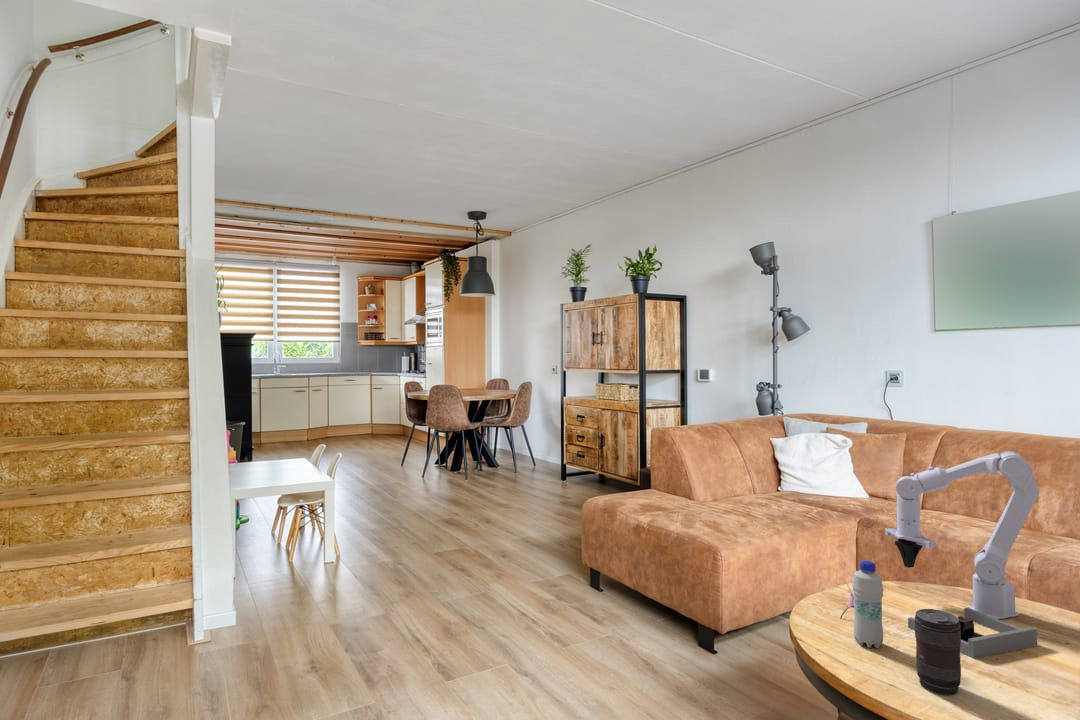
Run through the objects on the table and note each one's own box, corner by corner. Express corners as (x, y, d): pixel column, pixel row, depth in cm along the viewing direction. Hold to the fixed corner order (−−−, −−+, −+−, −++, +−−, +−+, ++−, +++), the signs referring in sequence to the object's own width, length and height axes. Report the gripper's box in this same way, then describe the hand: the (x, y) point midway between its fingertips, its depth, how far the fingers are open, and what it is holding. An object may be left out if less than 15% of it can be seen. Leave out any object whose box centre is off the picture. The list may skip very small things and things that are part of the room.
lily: (865, 637, 153) (884, 603, 153) (820, 607, 160) (837, 576, 160) (870, 634, 162) (887, 603, 162) (827, 607, 169) (844, 577, 169)
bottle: (883, 640, 148) (881, 558, 148) (885, 652, 142) (884, 567, 142) (852, 635, 151) (851, 555, 151) (853, 647, 145) (852, 563, 145)
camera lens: (906, 678, 131) (905, 608, 131) (941, 676, 131) (940, 607, 131) (934, 699, 123) (932, 624, 123) (971, 696, 123) (970, 623, 123)
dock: (967, 616, 161) (967, 601, 161) (1037, 645, 145) (1036, 628, 145) (908, 627, 155) (907, 611, 155) (973, 658, 139) (973, 641, 139)
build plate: (964, 628, 157) (964, 610, 157) (994, 639, 150) (994, 620, 150) (932, 636, 152) (932, 617, 152) (962, 648, 145) (962, 629, 145)
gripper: (876, 514, 179) (877, 560, 179) (920, 526, 166) (920, 576, 166) (895, 512, 182) (895, 557, 181) (939, 524, 168) (940, 573, 168)
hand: (909, 566), depth 174 cm, fingers closed
